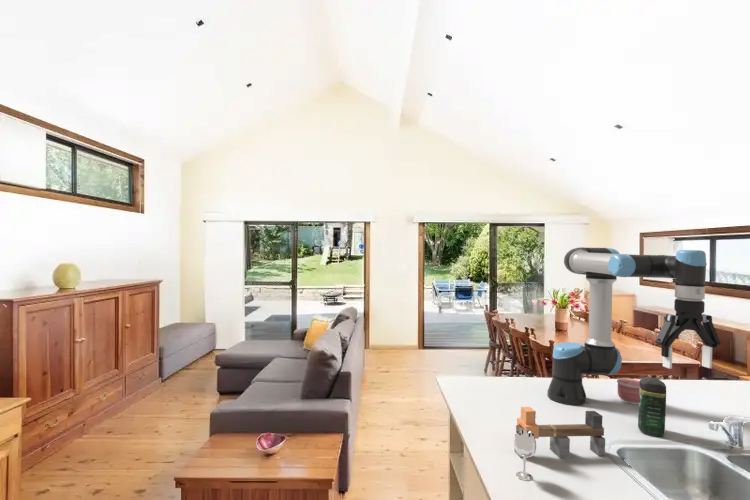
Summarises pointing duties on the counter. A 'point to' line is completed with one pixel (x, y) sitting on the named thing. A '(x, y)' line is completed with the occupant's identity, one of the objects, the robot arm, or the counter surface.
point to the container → (628, 390)
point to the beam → (562, 442)
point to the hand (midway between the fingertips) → (686, 367)
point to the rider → (528, 420)
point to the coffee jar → (652, 406)
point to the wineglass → (525, 450)
